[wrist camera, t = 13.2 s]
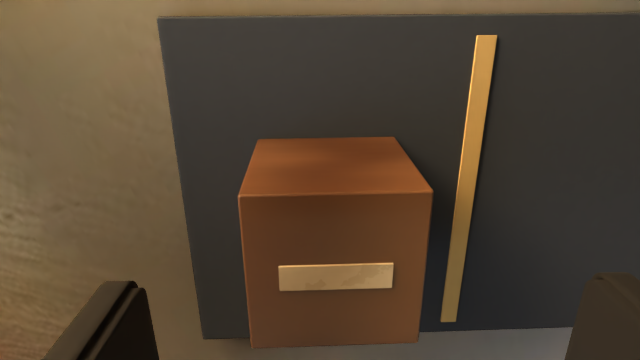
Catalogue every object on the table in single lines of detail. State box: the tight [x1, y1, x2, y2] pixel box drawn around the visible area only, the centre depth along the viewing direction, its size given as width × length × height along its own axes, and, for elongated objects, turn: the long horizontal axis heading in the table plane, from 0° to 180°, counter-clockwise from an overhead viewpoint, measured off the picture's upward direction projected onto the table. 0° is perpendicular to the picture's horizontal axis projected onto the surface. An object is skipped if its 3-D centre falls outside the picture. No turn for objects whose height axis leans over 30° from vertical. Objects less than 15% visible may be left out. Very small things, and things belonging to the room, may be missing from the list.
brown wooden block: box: [238, 137, 434, 348], centre depth 12 cm, size 4×4×5 cm
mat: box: [157, 13, 640, 339], centre depth 15 cm, size 20×12×1 cm, turn 90°
